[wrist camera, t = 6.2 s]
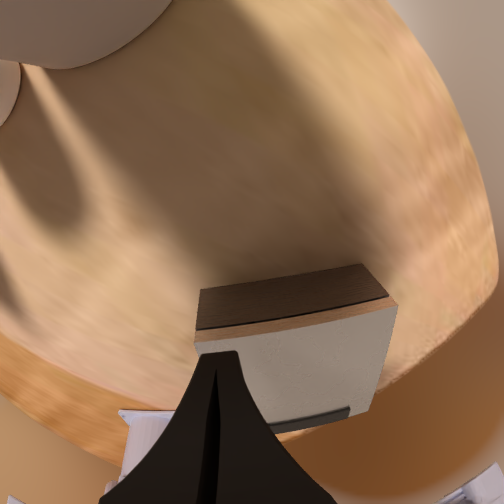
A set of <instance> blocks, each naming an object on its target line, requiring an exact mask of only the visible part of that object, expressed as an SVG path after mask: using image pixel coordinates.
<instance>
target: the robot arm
mask: <svg viewBox="0 0 504 504" xmlns="http://www.w3.org/2000/svg"><path fill="white" fill-rule="evenodd" d="M118 413H119V415H120V416H121V417H122V418H123V419H124V421H125V422H126V423H127V424H128V425H129V426H130V428H129V433H128V438H127V443H126V448H125V454H124V459H123V465H122V471H121V476H119V482H118V484H117V481H115V480H112V481H111V482H109V483H107V485H106V488H105V493H104V495H103V496H102V497H101V498H100V500H99V503H98V504H337V503H336V501H335V500H334V499H333V498H332V496H331V495H330V494H329V493H328V492H326V491H325V490H324V489H323V488H322V487H321V486H319V484H317V483H316V482H315V481H314V480H313V479H312V478H311V477H310V476H309V475H308V474H307V473H306V472H305V471H304V470H303V469H302V468H301V467H300V465H299V464H298V463H297V462H296V461H295V460H294V459H293V457H292V456H291V455H290V454H289V453H288V452H287V450H286V449H285V448H284V447H283V445H282V444H281V443H280V441H279V440H278V439H277V437H276V436H275V434H274V433H273V432H272V430H271V429H270V427H269V426H268V424H267V423H266V421H265V419H264V418H263V416H262V414H261V413H260V411H259V409H258V407H257V405H256V404H255V402H254V400H253V398H252V396H251V393H250V391H249V389H248V387H247V385H246V382H245V380H244V376H243V372H242V367H241V363H240V359H239V355H238V352H237V351H235V350H231V351H222V352H213V353H204V354H201V356H200V358H199V360H198V363H197V366H196V369H195V371H194V374H193V376H192V378H191V381H190V383H189V385H188V387H187V389H186V391H185V393H184V396H183V398H182V400H181V402H180V404H179V405H178V407H177V409H176V411H138V410H119V411H118ZM7 504H25V503H24V502H22V501H20V500H18V499H17V498H15V497H13V496H12V495H9V497H8V502H7ZM433 504H504V475H503V474H502V471H501V469H500V468H499V465H498V463H497V462H494V463H492V464H491V465H490V466H488V467H487V468H486V469H484V470H483V471H482V472H481V473H479V474H478V475H476V476H475V477H473V478H471V479H470V480H468V481H467V482H466V483H464V484H462V485H461V486H459V487H458V488H456V489H455V490H453V491H452V492H450V493H448V494H447V495H445V496H444V497H443V498H442V499H440V500H438V501H437V502H435V503H433Z"/></svg>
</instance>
